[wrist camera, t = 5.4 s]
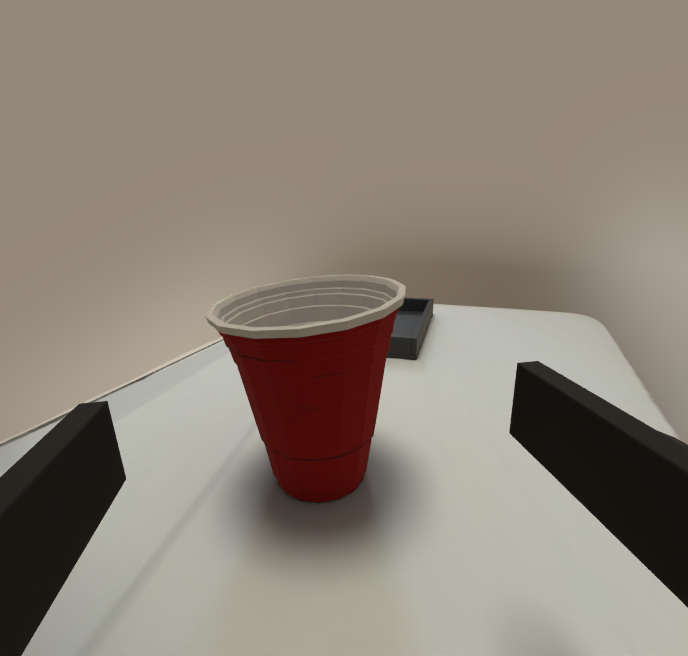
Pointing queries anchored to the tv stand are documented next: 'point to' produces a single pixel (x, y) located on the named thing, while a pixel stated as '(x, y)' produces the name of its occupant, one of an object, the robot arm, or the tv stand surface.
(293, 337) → the plastic cup
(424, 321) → the tray
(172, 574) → the tv stand surface
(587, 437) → the robot arm
